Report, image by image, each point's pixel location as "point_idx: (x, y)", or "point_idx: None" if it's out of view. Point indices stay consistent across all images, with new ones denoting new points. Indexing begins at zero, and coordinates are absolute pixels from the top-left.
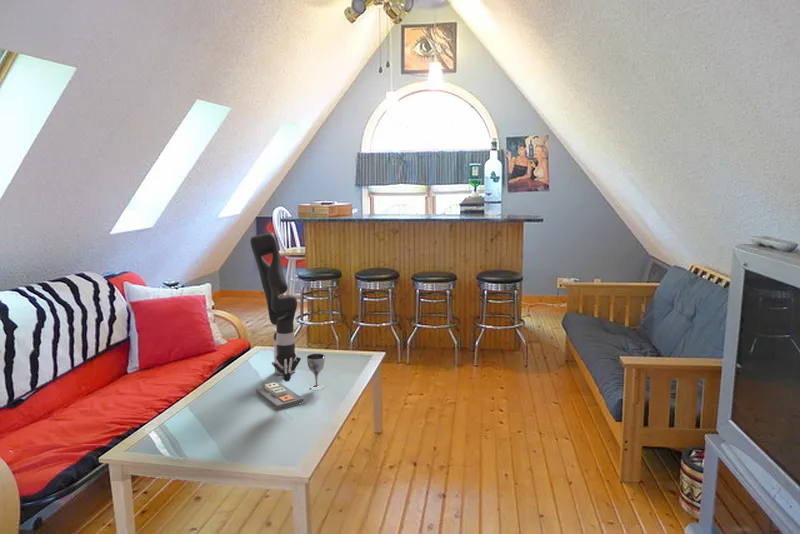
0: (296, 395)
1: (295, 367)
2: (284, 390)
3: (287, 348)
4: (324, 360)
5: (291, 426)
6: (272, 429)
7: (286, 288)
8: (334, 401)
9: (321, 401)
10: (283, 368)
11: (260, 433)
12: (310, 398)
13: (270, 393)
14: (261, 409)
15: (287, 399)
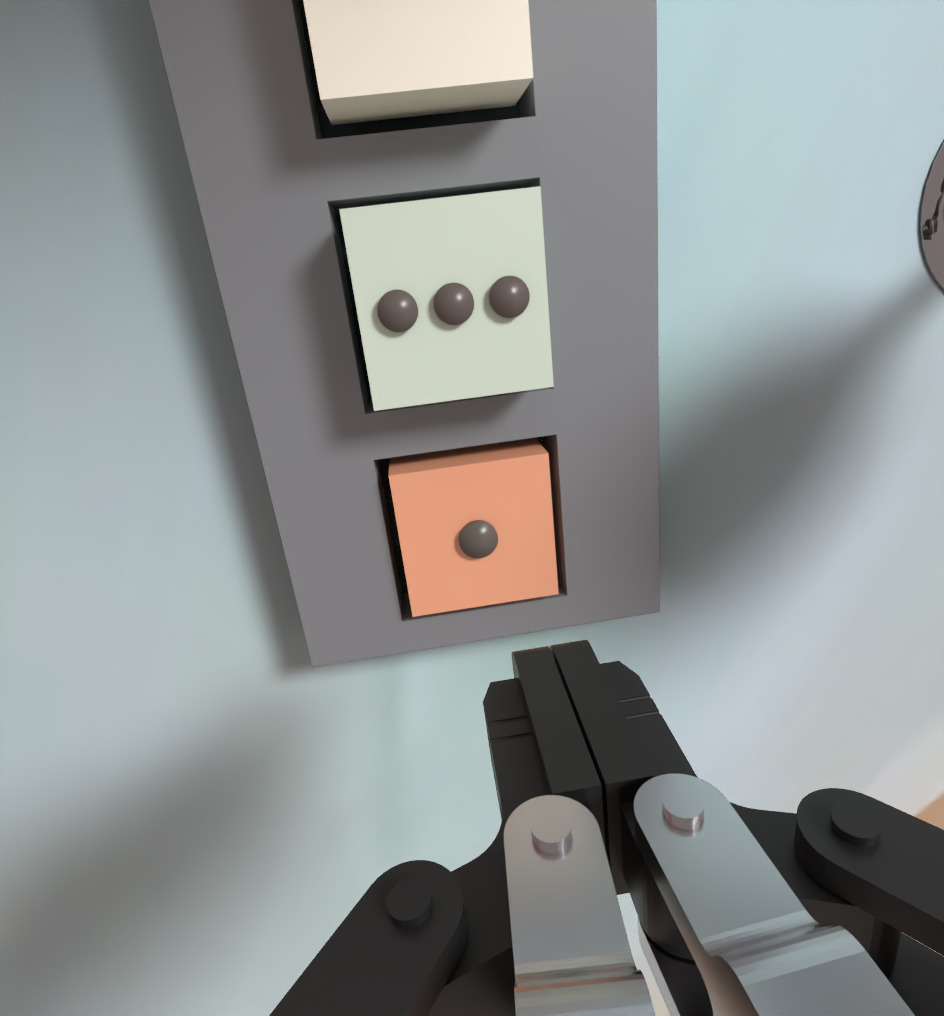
0: (635, 484)
1: (937, 987)
2: (523, 377)
3: None
4: None
5: None
6: (181, 957)
7: None
8: (903, 676)
9: (809, 625)
10: (563, 956)
11: (68, 984)
12: (764, 501)
13: (325, 211)
14: (141, 540)
15: (473, 595)
